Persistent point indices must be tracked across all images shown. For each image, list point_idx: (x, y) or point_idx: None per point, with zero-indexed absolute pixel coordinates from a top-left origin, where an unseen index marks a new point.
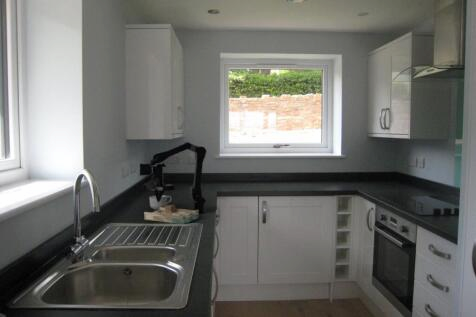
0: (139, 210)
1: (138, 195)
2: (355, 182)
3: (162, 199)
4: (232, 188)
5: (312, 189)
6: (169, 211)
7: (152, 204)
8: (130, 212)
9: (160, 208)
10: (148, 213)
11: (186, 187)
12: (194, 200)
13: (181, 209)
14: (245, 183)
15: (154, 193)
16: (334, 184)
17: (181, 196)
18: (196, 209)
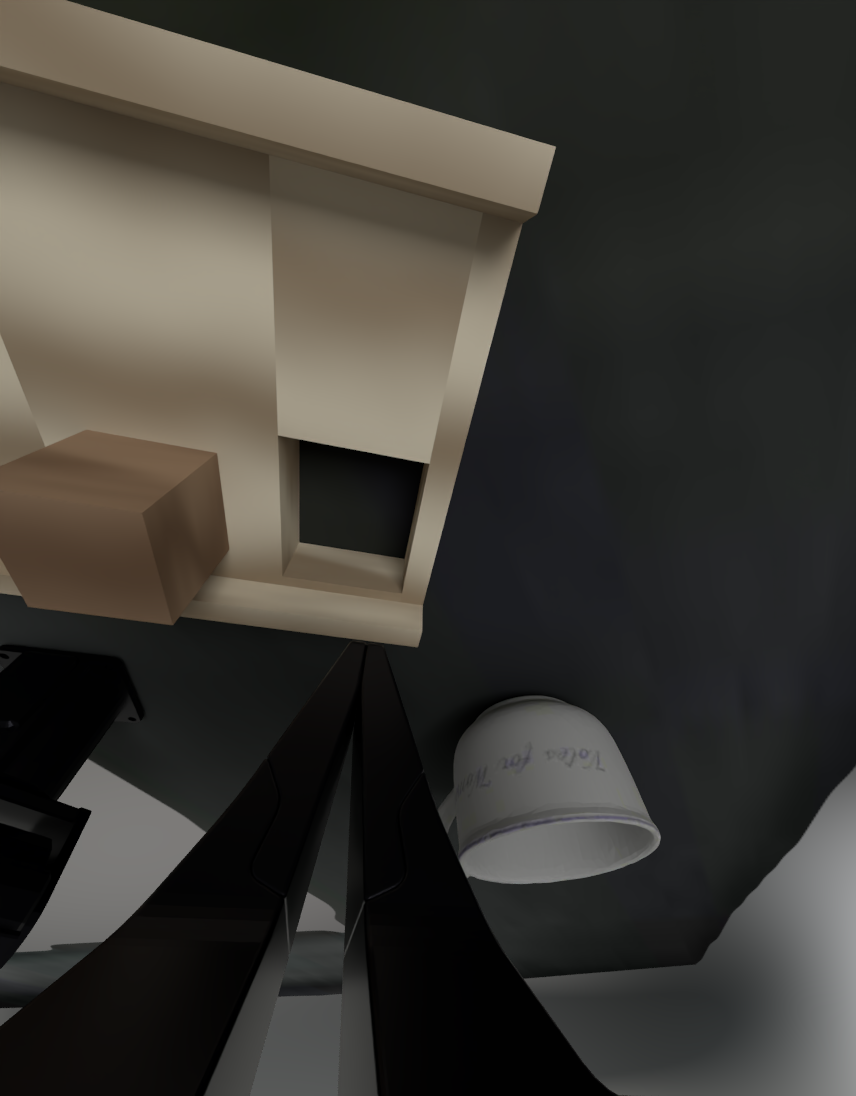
0: (698, 653)
1: (744, 886)
2: (4, 993)
3: (479, 811)
4: (331, 955)
5: (32, 963)
6: (98, 449)
7: (581, 733)
8: (802, 573)
9: (405, 617)
10: (409, 113)
11: (528, 951)
12: (67, 817)
13: (12, 580)
14: (329, 978)
15: (455, 893)
16: (36, 985)
17: (490, 893)
18: (16, 681)
